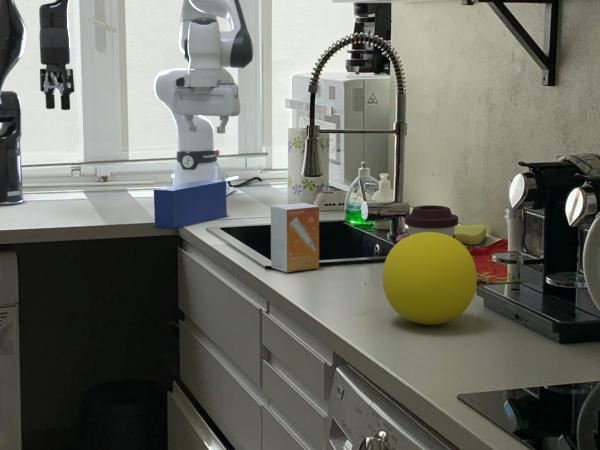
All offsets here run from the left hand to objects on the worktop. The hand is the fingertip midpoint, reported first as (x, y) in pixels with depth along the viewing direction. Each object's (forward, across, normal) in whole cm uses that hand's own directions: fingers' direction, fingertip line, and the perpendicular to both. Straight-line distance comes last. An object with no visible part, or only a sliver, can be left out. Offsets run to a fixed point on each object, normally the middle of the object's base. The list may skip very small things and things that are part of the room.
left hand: (58, 109), depth 270 cm
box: (+30, -20, -27) cm, 45 cm away
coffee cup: (+30, -115, -18) cm, 120 cm away
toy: (+30, -134, +2) cm, 137 cm away
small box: (+30, -86, -9) cm, 91 cm away
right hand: (+7, -18, -34) cm, 39 cm away
